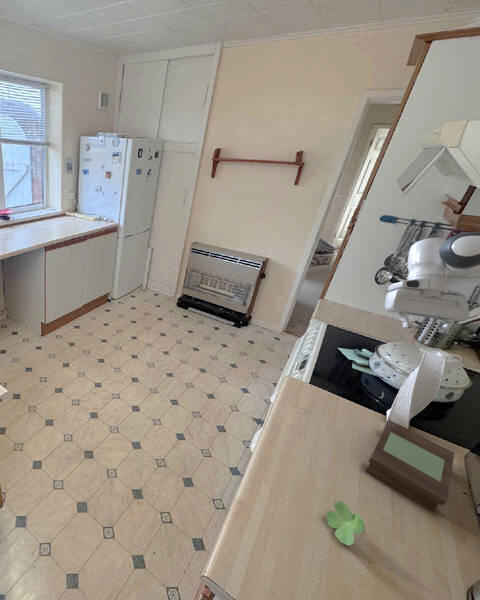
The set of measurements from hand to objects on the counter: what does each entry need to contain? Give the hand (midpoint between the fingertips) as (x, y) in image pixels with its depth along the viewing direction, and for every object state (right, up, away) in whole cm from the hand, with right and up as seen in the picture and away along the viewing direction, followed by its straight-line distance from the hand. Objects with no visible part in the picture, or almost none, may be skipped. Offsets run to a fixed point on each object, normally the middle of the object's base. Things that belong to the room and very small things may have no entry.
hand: (425, 330), depth 100 cm
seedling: (-49, -42, -29) cm, 71 cm away
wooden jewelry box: (-20, -36, -13) cm, 43 cm away
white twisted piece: (-7, -29, +2) cm, 30 cm away
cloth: (+10, -16, +31) cm, 37 cm away
